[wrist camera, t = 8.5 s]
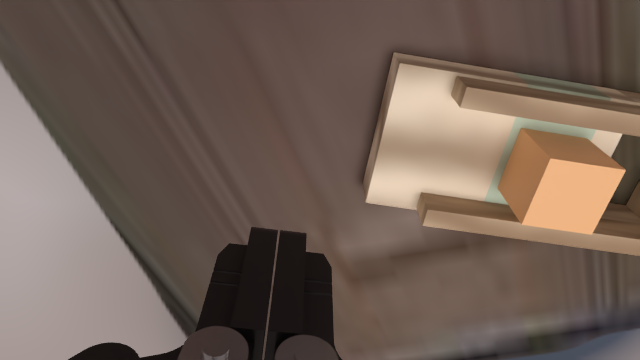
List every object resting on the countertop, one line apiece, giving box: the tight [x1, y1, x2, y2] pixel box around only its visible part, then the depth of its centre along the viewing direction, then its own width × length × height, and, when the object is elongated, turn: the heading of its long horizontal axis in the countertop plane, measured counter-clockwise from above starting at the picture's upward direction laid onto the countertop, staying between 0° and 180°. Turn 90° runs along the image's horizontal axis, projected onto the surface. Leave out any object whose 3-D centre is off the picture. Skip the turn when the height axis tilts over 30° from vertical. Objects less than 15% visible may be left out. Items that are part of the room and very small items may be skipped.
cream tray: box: [363, 52, 640, 256], centre depth 36 cm, size 11×23×6 cm, turn 81°
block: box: [498, 128, 626, 235], centre depth 33 cm, size 5×5×5 cm
